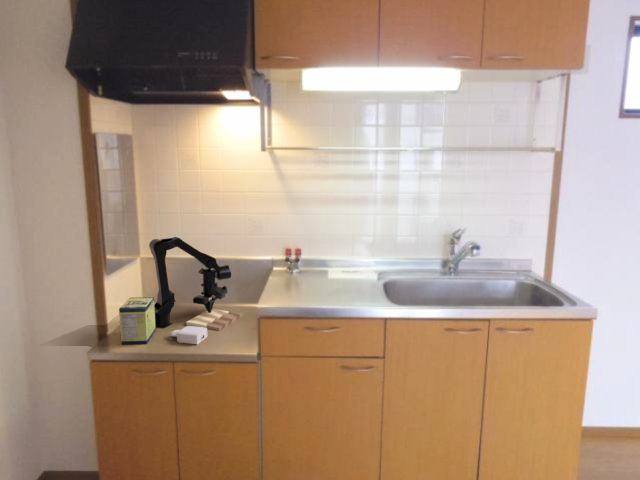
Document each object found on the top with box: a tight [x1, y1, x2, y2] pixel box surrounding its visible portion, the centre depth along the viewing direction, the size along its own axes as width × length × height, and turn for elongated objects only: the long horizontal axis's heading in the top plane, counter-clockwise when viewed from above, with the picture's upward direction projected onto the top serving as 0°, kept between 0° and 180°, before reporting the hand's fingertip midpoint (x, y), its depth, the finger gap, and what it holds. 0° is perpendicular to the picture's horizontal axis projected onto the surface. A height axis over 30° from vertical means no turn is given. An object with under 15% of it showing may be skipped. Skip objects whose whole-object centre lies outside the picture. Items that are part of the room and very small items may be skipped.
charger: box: [168, 325, 208, 345], centre depth 196 cm, size 5×9×15 cm
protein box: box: [118, 296, 156, 345], centre depth 196 cm, size 10×16×16 cm
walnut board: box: [206, 311, 243, 332], centre depth 216 cm, size 20×7×2 cm, turn 160°
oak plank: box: [185, 308, 230, 328], centre depth 219 cm, size 20×10×2 cm, turn 160°
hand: (209, 312), depth 224 cm, fingers closed, pressing on oak plank
